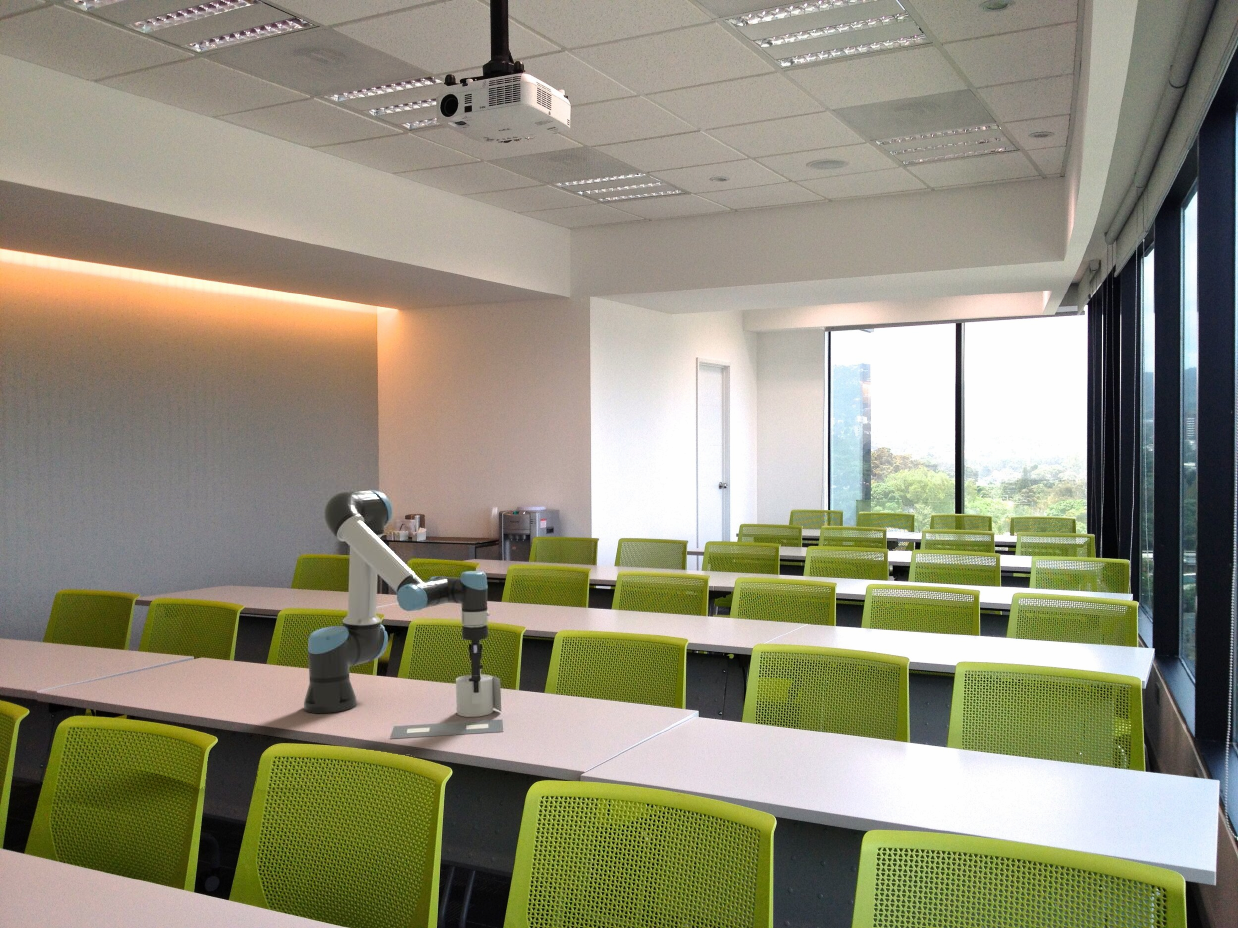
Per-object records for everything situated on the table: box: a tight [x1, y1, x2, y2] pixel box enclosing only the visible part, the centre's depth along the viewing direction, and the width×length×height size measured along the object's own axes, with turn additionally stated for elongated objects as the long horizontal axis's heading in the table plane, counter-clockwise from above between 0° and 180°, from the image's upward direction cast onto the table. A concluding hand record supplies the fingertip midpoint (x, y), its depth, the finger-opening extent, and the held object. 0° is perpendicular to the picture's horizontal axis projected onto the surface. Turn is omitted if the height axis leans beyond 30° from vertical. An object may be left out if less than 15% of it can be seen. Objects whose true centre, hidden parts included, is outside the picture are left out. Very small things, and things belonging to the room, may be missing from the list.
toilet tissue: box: [455, 673, 502, 718], centre depth 292 cm, size 11×12×10 cm
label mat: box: [389, 719, 504, 740], centre depth 275 cm, size 30×12×1 cm, turn 98°
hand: (476, 697), depth 292 cm, fingers open, 13 cm apart
